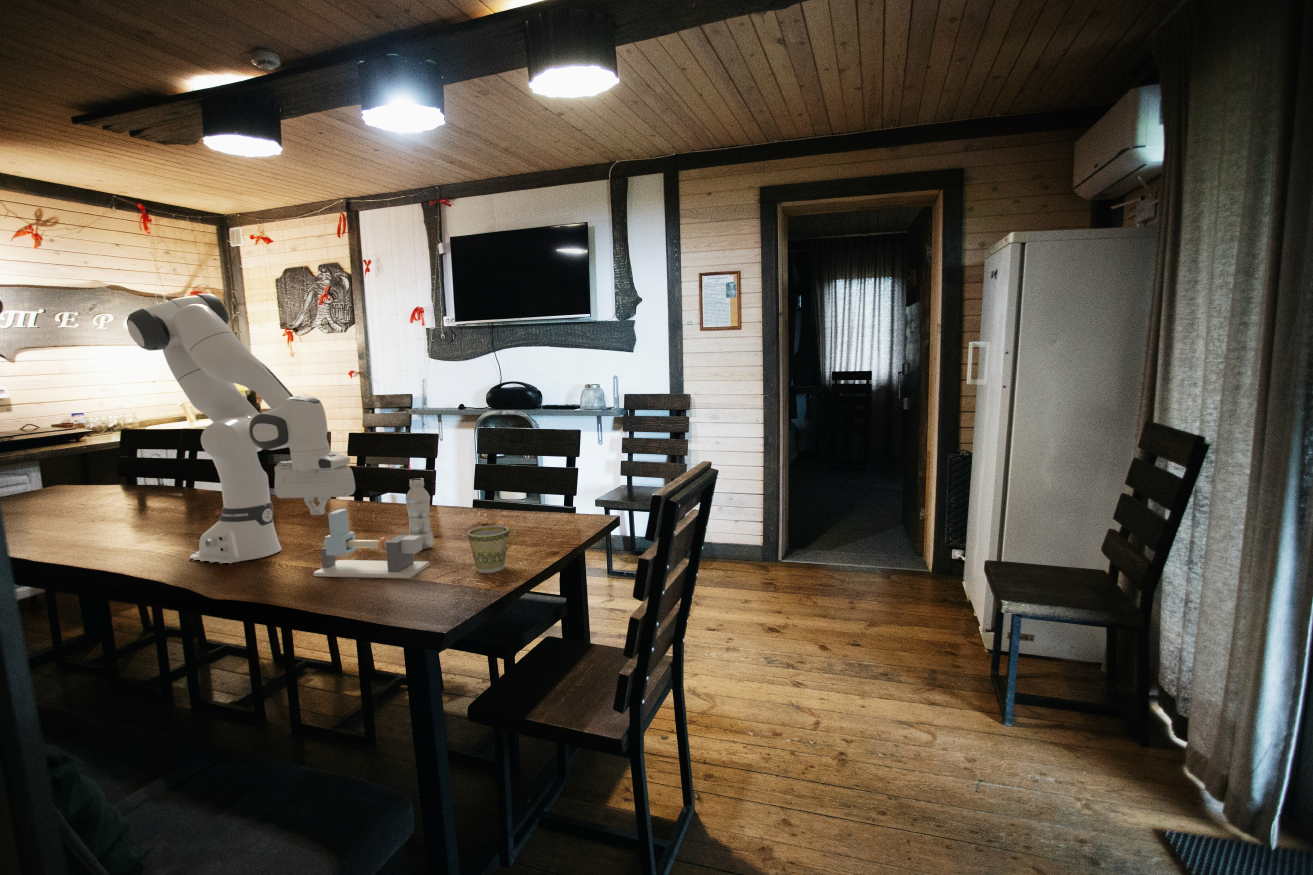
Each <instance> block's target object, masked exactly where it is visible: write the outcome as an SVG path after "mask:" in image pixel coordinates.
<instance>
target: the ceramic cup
mask: <svg viewBox="0 0 1313 875" xmlns="http://www.w3.org/2000/svg"><path fill="white" fill-rule="evenodd" d="M513 532H516V533H517V536H516V537H515V538H514V539H513V540H512V541H511V542H510V543H509V545H508V540H509V537H510V535H511V534H512V533H513ZM519 537H520V531H519V530H518V529H516V528H511V529H510V528H509V527H507V526H504V525H485V526H478V527H475V528H471V529H470V530H468V531H467V538H468V542H469V545H470V548H471V549H470V550H471V552H472V556H473V561H474V565H475V570H476V571H477V572H478V573H479V574H492V573H497V571H498V572H500V571H502V570H503V569H504V568H505V565H506V564H505V563H506V555H507V553H508V552H507V551H508V549H510V547H511V546H512V545H513V544H514V543H515V542H516V541H517V540H518V539H519Z"/></svg>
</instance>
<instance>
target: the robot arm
mask: <svg viewBox="0 0 1313 875" xmlns="http://www.w3.org/2000/svg"><path fill="white" fill-rule="evenodd" d="M229 316H230V315H229V313H228V310H227V308H226V306H225V305H224V303H223V301H222V300H221V299H220V298H219V297H217V296H215V295H214V294H212V293H197V294H194V295H190V296H183V297H177V298H174V299H169V300H167V301H164V302H160V303H158V304H154V305H151V306H148V307H146V308H139V309H138V310H136V311H135V310H134V311H133V312H132V313H130V314H128V316H127V319H126V325H127V326H126V327H127V331H128V334H129V335H130V338H131V339H133V341H134V342H135V343H136V344H137V345H138V346H139V347H140V348H141V349H144V350H147V351H161V350H162V353H163V355H164V358H165V361H166V362H167V365H168V368H170V371H171V373H172V375H173V376H174V378H175V380H176V381H177V383H178V385H179V387H181V389H182V391H183V392H184V394H185V395H186V397H187V399H188V400H189V402H190V403H191V405H192V406H193V407H194V408H195V409H196V410H197V411H199V412H200V413H202V414H203V415H205V416H206V417H207V418H208V419H209V420H210V421H212V423H210V424H209V425H207V426H206V427H205V428H204V429H203V431H202V433H201V435H200V444H201V447H202V449H203V450H204V452H205V453H206V454H208V455H209V456H210V458H211V460H212V462H213V463H214V466H215V468H216V471H217V474H218V478H219V482H220V486H221V487H220V488H221V494H222V502H223V507H221V509H220V508H219V509H216V510H214V513H215V512H216V513H215V515H219V514H220V515H219V517H218V521H217V522H216V523H214V525H212V526H210V528H208V529H207V530H206V531H205V532H204V533H203V534H202V535H201V536H200V538H199V543H198V545H199V546H198V548H199V549H198V550H197V551H196V552H194V553H192V554H190V555H189V560H190V559H193V560H192V561H195V560H200V561H199V562H204V561H209V562H208V563H214V562H219V563H218V564H223V563H229V564H234V563H239V562H242V561H243V562H244V561H249V560H255V559H261V558H265V557H268V556H272V555H274V554H277V553H278V552H281V551H282V545H281V544H280V542H279V541H280V540H279V539H278V535H277V532H276V529H275V524H274V519H273V518H274V506H273V501H271V495H270V485H269V484H270V483H269V476H268V474H267V472H266V471H265V470H264V468H263V467H262V465H261V462H260V459H259V456H258V452H260V451H262V450H269V451H274V450H279V449H286V448H289V452H290V453H289V454H290V460H289V461H279V462H278V463H277V464H276V465H275V466H274V494H275V495H276V497H277V498H279V499H296V498H297V499H298V498H300V499H302V498H303V500H304V503H305V505H306V506H307V508H309V514H310V515H312V516H313V515H315V516H316V515H323V514H324V515H325V513H326V508H325V506H326V505H327V502H328V500H329V498H342V497H343V498H344V497H348V496H351V495H353V494H354V493H355V491H356V481H355V476H354V473H353V469H352V468H351V466H349V465H350V464H351V458H350V456H348V455H344V454H342V453H341V454H340V453H338V452H334V451H331V448H330V443H329V441H328V431H329V430H328V423H327V416H326V412H325V408H324V406H323V403H322V402H321V400H320V399H318V398H316V397H311V396H304V395H303V396H301V395H300V396H298V395H296V396H295V395H293V394H292V392H290V390H288V388H287V387H286V386H285V384H283V382H282V381H280V379H279V378H278V377H277V376H276V375H275V374H274V372H272V371H271V369H270V368H269V367H268V366H267V365H266V364H264V363H263V362H261V361H260V360H259V359H258V358H257V356H255V355H253V353H251V351H250V350H249V349H248V348H246V346H245V345H244V344H243V343H242V341H241V340H239V338H238V337H237V335H236V334H235V333H234V332H233V330H232V329H231V328H230V326H229V325H228V324H229V321H230V317H229ZM235 384H237V385H240V386H243V387H245V388H248V389H250V390H251V391H253V392H254V393H256V394H257V395H258V396H259V397H260V398H261V399H262V400H263V402H264V403H265V404H266V405H267V406H268V407H269V408H270V410H267V411H264V412H261V413H260V412H259V411H258V410H257V408H255V406H254V405H252V403H250V401H249V400H248V399H247V398H246V397H245V396H244V395H243V394H242V393H241V392H240V390H239V389H238V387H237V386H236V385H235ZM315 498H316V499H317V502H319V504H318V506H317V505H316V503H315V502H314V501H315V500H316V499H315ZM233 562H234V563H233Z"/></svg>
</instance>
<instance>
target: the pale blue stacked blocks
mask: <svg viewBox="0 0 1313 875" xmlns="http://www.w3.org/2000/svg"><path fill="white" fill-rule="evenodd" d="M327 515H328V516H327V517H328V527H329V528H328V529H329V534H328V535H326V536H325V535H324V541H325V545H326V555H335V557H336V556H338V557H339V556H343V557H345V556H347V555H349V554H352V553H353V552H355V551H357V548H347V547H346V540H356V534H355V533H356V532H354V531H350V527H349V526H350V524H349V514H348V509H347V508H340V509H337V510H334V511H332V512H329V513H328V514H327Z"/></svg>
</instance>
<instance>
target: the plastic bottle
mask: <svg viewBox="0 0 1313 875" xmlns="http://www.w3.org/2000/svg"><path fill="white" fill-rule="evenodd" d="M424 486H425V482H424V478H420V477H419V478H411V479H409V487H410V489H409V490H408V491H407V494H406V495H405V506H406V508H407V514H408V523H409V525H408V526H409V533H408V535H412V536H422V550H423V551H424V550H426V549H430V548H431V547H432V546H433V544H434V535H433V532H432V527H431V521H430V520H431V519H430V505H431V504H430V503H431V496H430V493H429V492H428V491H427V490H426V489H425V487H424ZM422 550H421V551H422Z"/></svg>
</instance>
